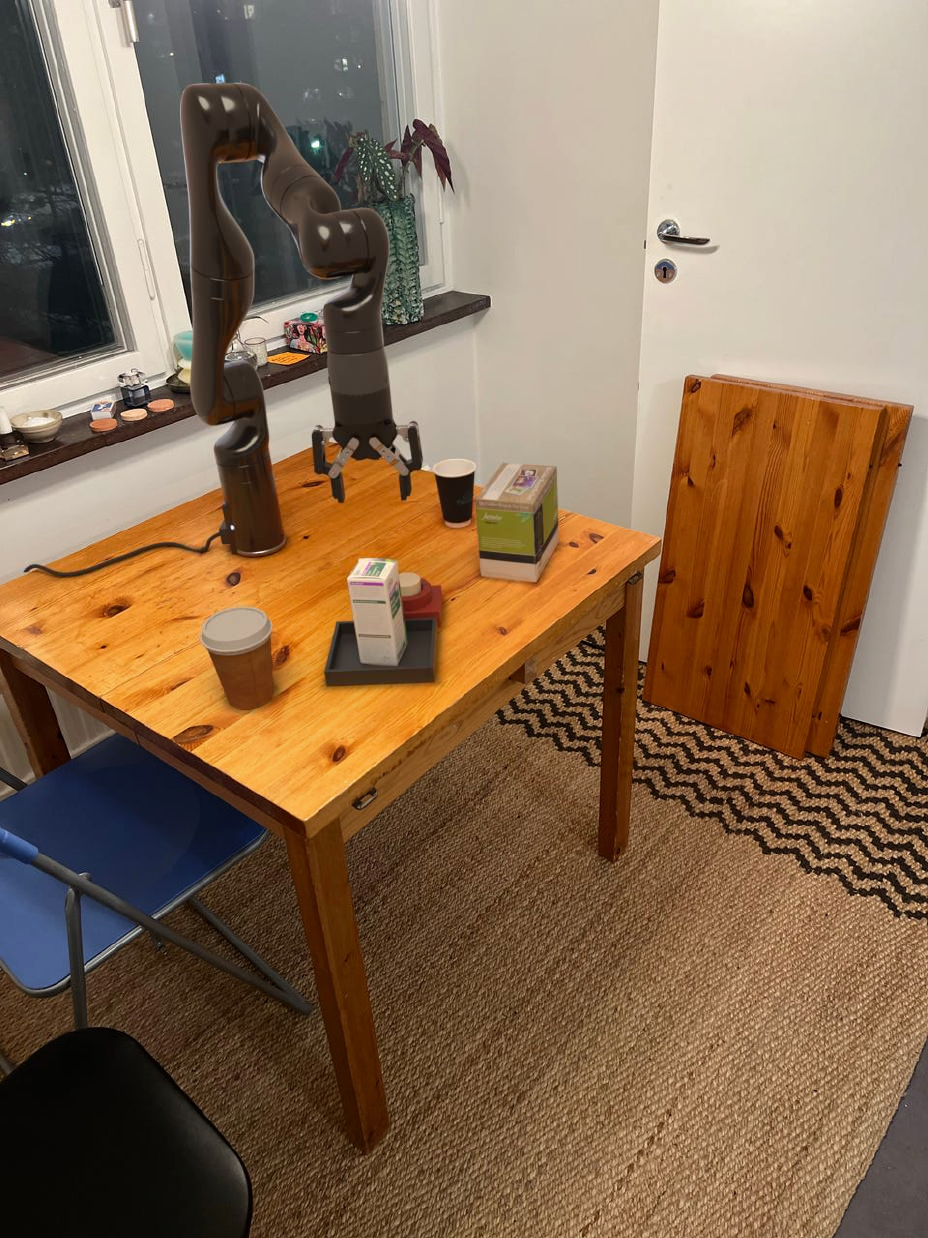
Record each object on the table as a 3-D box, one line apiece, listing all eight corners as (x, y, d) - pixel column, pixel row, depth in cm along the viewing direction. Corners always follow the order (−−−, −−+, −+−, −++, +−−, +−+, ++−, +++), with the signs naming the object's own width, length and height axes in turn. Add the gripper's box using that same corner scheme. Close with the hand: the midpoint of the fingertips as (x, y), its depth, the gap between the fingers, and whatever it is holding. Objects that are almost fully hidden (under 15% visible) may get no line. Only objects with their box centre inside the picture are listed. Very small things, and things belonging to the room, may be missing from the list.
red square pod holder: (375, 630, 140) (372, 602, 137) (380, 603, 146) (376, 576, 144) (440, 628, 139) (438, 600, 137) (442, 601, 146) (440, 573, 143)
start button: (391, 598, 139) (390, 587, 138) (394, 583, 142) (392, 572, 141) (420, 597, 138) (419, 585, 137) (422, 582, 142) (421, 571, 141)
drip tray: (326, 687, 128) (324, 672, 127) (338, 635, 139) (336, 621, 138) (434, 682, 127) (433, 667, 126) (437, 631, 139) (436, 616, 137)
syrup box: (398, 667, 130) (388, 578, 122) (358, 664, 131) (346, 576, 124) (408, 645, 135) (399, 558, 127) (369, 642, 136) (358, 556, 128)
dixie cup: (473, 532, 166) (469, 476, 160) (431, 529, 168) (426, 474, 162) (483, 514, 172) (480, 459, 167) (443, 511, 174) (439, 457, 168)
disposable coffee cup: (221, 679, 131) (204, 608, 125) (288, 673, 131) (274, 601, 125) (211, 720, 123) (192, 646, 117) (282, 713, 123) (267, 639, 117)
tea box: (505, 537, 164) (502, 460, 156) (560, 543, 160) (560, 464, 153) (478, 577, 152) (473, 496, 144) (536, 585, 149) (535, 502, 141)
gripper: (417, 370, 118) (426, 486, 127) (308, 375, 119) (325, 489, 127) (413, 389, 112) (423, 509, 120) (298, 394, 112) (316, 513, 121)
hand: (372, 499), depth 124 cm, fingers open, 8 cm apart
